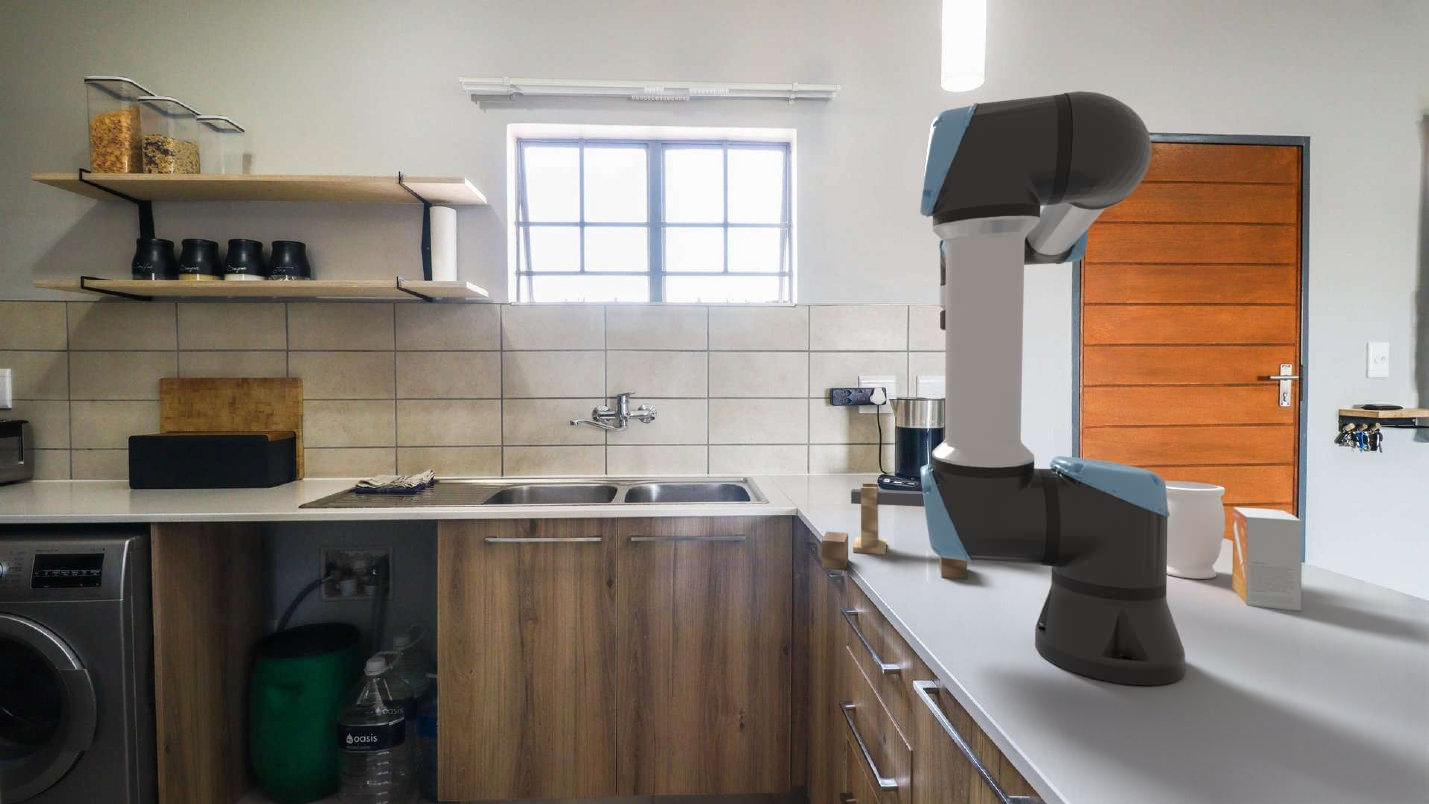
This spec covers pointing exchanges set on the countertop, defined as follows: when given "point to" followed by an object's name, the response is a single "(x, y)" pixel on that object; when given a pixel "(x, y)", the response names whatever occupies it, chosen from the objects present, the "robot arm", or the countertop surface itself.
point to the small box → (1267, 558)
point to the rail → (892, 497)
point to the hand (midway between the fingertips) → (961, 420)
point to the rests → (838, 557)
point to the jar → (1194, 528)
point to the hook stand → (869, 522)
